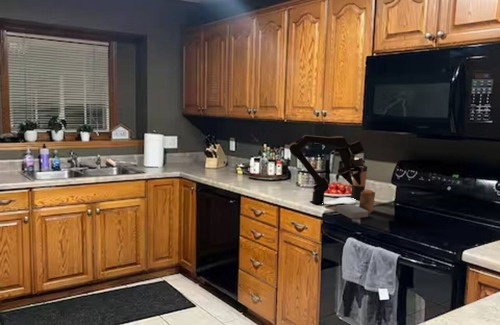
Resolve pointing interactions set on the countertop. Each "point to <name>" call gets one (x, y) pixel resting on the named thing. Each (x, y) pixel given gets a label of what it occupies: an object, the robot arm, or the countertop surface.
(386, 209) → the countertop surface
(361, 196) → the brown cylinder
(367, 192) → the cargo block
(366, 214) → the dock
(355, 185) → the travel mug
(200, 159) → the countertop surface
